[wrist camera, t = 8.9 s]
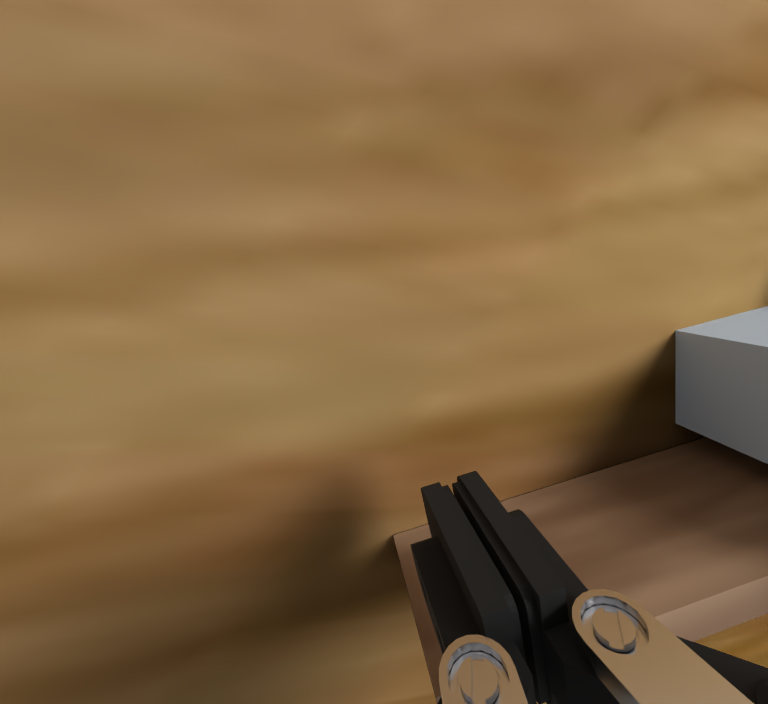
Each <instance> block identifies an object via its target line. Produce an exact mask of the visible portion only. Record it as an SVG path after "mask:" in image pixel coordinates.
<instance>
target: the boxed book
mask: <svg viewBox="0 0 768 704" xmlns="http://www.w3.org/2000/svg"><path fill="white" fill-rule="evenodd" d="M676 424H678V425H680V426H683V427H685V428H687V429H689V430H692V431H694V432H696V433H699V434H701V435H703V436H705V437H708V438H710V439H712V440H714V441H717V442H719V443H721V444H723V445H726V446H728V447H730V448H732V449H735V450H737V451H739V452H741V453H744V454H746V455H748V456H751V457H753V458H755V459H757V460H760V461H762V462H764V463H766V464H768V306H766V307H762V308H758V309H754V310H751V311H747V312H743V313H739V314H736V315H732V316H728V317H724V318H721V319H717V320H713V321H709V322H706V323H702V324H698V325H694V326H691V327H687V328H683V329H679V330H676Z"/></svg>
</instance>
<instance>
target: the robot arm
mask: <svg viewBox="0 0 768 704" xmlns="http://www.w3.org/2000/svg"><path fill="white" fill-rule="evenodd" d="M452 487H453V492H454V495H453V493H452V491H451V490H450V488H449V486H448V485H446V486H443V487H442V486H441V484H440V483H439V482H438V483H435V484H432V485H428V486H425V487H422V488H421V492H422V497H423V502H424V506H425V510H426V515H427V519H428V524H429V528H430V533H431V537H432V538H429V539H426V540H423V541H420V542H416V543H413V544H411V550H412V554H413V558H414V563H415V566H416V570H417V574H418V578H419V581H420V585H421V588H422V592H423V595H424V598H425V601H426V605H427V608H428V611H429V614H430V617H431V620H432V623H433V627H434V630H435V633H436V636H437V639H438V642H439V645H440V648H441V652H442V658H441V662H440V666H439V685H440V691H441V697H440V699H439V702H438V704H537V703H536V701H537V702H538V704H542V703H545V702H546V703H547V704H768V668H765V667H763V666H760V665H757V664H754V663H751V662H749V661H746V660H743V659H740V658H737V657H734V656H732V655H729V654H726V653H723V652H720V651H717V650H715V649H712V648H709V647H706V646H703V645H700V644H698V643H695V642H692V641H689V640H686V639H683V638H681V637H678V636H675V635H674V634H673V633H672V632H671V631H669V630H668V629H667V628H666V627H665V626H664V625H662V624H661V623H660V622H659V621H658V620H657V619H656V618H654V617H653V616H652V615H651V614H650V613H649V612H647V611H646V610H645V609H644V608H643V607H642V606H640V605H639V604H638V603H636V602H635V601H633V600H632V599H631V598H629V597H627V596H625V595H622V594H620V593H618V592H615V591H611V590H606V589H592V590H588V589H587V588H586V587H585V586H584V584H583V583H582V582H581V581H580V579H579V578H578V577H577V576H576V575H575V573H574V572H573V571H572V570H571V569H570V567H569V566H568V565H567V564H566V563H565V561H564V560H563V559H562V558H561V557H560V555H559V554H558V553H557V552H556V551H555V549H554V548H553V547H552V546H551V545H550V543H549V542H548V541H547V540H546V538H545V537H544V536H543V535H542V534H541V532H540V531H539V530H538V529H537V528H536V526H535V525H534V524H533V523H532V522H531V520H530V519H529V518H528V517H527V516H526V514H525V513H524V512H523V511H522V510H520V509H517V510H514V511H511V512H507V510H506V509H505V508H504V507H503V505H502V504H501V503H500V501H499V500H498V499H497V497H496V496H495V495H494V493H493V492H492V491H491V490H490V488H489V487H488V486H487V484H486V483H485V482H484V480H483V479H482V478H481V477H480V475H479V474H478V473H477V472H476V471H473V472H470V473H467V474H464V475H461V476H458V477H457V482H456V483H453V484H452Z"/></svg>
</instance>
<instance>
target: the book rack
mask: <svg viewBox="0 0 768 704" xmlns="http://www.w3.org/2000/svg"><path fill="white" fill-rule="evenodd" d="M500 503H501V504H502V505H503V507H504V508H505V509H506V510H507V512H511V511H514V510H517V509H520V510H522V511H523V512H524V513H525V514H526V516H527V517H528V518H529V519H530V520H531V522H532V523H533V524H534V525H535V526H536V528H537V529H538V530H539V531H540V532H541V534H542V535H543V536H544V537H545V538H546V540H547V541H548V542H549V543H550V545H551V546H552V547H553V548H554V549H555V551H556V552H557V553H558V554H559V555H560V557H561V558H562V559H563V560H564V561H565V563H566V564H567V565H568V566H569V567H570V569H571V570H572V571H573V572H574V573H575V575H576V576H577V577H578V578H579V579H580V581H581V582H582V583H583V584H584V586H585V587H586V588H587V589H588V590H592V589H606V590H611V591H615V592H618V593H620V594H622V595H625V596H627V597H629V598H631V599H632V600H633V601H635V602H636V603H638V604H639V605H640V606H642V607H643V608H644V609H645V610H646V611H647V612H649V613H650V614H651V615H652V616H653V617H654V618H656V619H657V620H658V621H659V622H660V623H661V624H662V625H664V626H665V627H666V628H667V629H668V630H669V631H671V632H672V633H673V634H674V635H675V636H678V637H681V638H683V639H686V640H689V641H692V642H694V641H696V640H699V639H702V638H704V637H707V636H710V635H712V634H715V633H717V632H720V631H723V630H725V629H728V628H731V627H733V626H736V625H739V624H741V623H744V622H746V621H749V620H752V619H754V618H757V617H760V616H762V615H765V614H767V613H768V464H766V463H764V462H762V461H760V460H757V459H755V458H753V457H751V456H748V455H746V454H744V453H741V452H739V451H737V450H735V449H732V448H730V447H728V446H726V445H723V444H721V443H719V442H717V441H714V440H712V439H710V438H708V437H705V438H702V439H699V440H695V441H692V442H689V443H686V444H683V445H679V446H676V447H673V448H670V449H667V450H664V451H660V452H657V453H654V454H651V455H648V456H644V457H641V458H638V459H635V460H632V461H628V462H625V463H622V464H619V465H616V466H612V467H609V468H606V469H603V470H600V471H596V472H593V473H590V474H587V475H584V476H580V477H577V478H574V479H571V480H568V481H565V482H561V483H558V484H555V485H552V486H549V487H545V488H542V489H539V490H536V491H533V492H529V493H526V494H523V495H520V496H517V497H513V498H510V499H507V500H504V501H501V502H500ZM393 537H394V541H395V545H396V548H397V552H398V556H399V560H400V564H401V568H402V572H403V576H404V579H405V583H406V587H407V591H408V595H409V598H410V602H411V606H412V610H413V614H414V617H415V621H416V625H417V629H418V633H419V637H420V640H421V644H422V648H423V652H424V656H425V659H426V663H427V667H428V671H429V675H430V678H431V682H432V686H433V690H434V694H435V698H436V701H437V704H438V702H439V699H440V697H441V691H440V685H439V666H440V662H441V658H442V652H441V648H440V645H439V642H438V639H437V636H436V633H435V630H434V627H433V623H432V620H431V617H430V614H429V611H428V608H427V605H426V601H425V598H424V595H423V592H422V588H421V585H420V581H419V578H418V574H417V570H416V566H415V563H414V558H413V554H412V550H411V544H413V543H416V542H420V541H423V540H426V539H429V538H432V537H431V533H430V528H429V524H427V525H424V526H421V527H418V528H414V529H411V530H408V531H405V532H402V533H399V534H395V535H393Z"/></svg>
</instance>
